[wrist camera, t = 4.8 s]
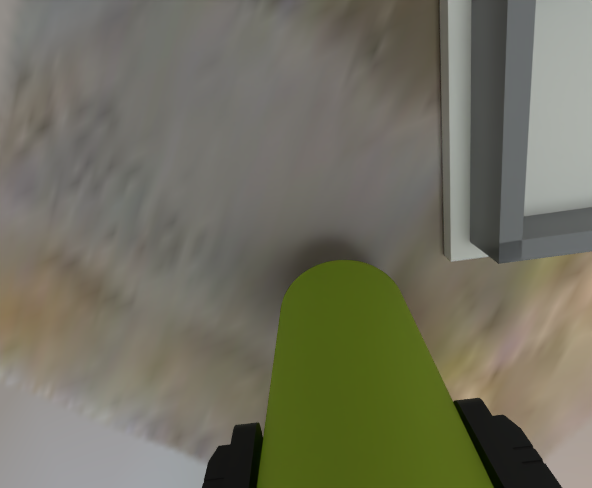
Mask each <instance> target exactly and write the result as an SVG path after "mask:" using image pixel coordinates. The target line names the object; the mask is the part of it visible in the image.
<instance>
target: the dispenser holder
mask: <svg viewBox="0 0 592 488" xmlns="http://www.w3.org/2000/svg"><path fill="white" fill-rule="evenodd" d="M440 54H441V109H442V164H443V219H444V255H445V256H446V257H447V258H448V259H449V260H450V261H451V262H452V261H460V260H467V259H475V258H482V257H491V258H492V259H493V260H494V261H496V262H497V263H498V264H500V263H507V262H515V261H522V260H530V259H537V258H545V257H552V256H560V255H567V254H575V253H582V252H590V251H592V0H440Z"/></svg>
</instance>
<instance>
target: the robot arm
mask: <svg viewBox="0 0 592 488" xmlns="http://www.w3.org/2000/svg"><path fill="white" fill-rule="evenodd" d="M453 403H454V405H455V407H456V409H457V411H458V413H459V416H460V418H461V420H462V422H463V424H464V426H465V428H466V430H467V432H468V434H469V436H470V439H471V441H472V443H473V445H474V447H475V449H476V451H477V453H478V455H479V457H480V460H481V462H482V464H483V466H484V468H485V470H486V472H487V474H488V476H489V478H490V481H491V483H492V485H493V487H494V488H562V487H561V485H560V484H559V483H558V481H557V480H556V478H555V477H554V475H553V474H552V473H551V471H550V470H549V468H548V467H547V465H546V464H544V463H543V460H542V458H541V457H540V455H539V454H538V452H537V451H536V450H535V449H534V448H533V445H532V444H531V442H530V441H529V440H528V438H527V437H526V435H525V434H524V432H523V431H522V429H521V428H520V427H518V426H517V425H516V424H515V423H513V422H512V421H511V420H509V419H508V418H507V417H506V416H504V415H496V416H492V415H491V413H490V411H489V410H488V408H487V407H486V405H485V404H484V402H483V401H482V400H481V399H480V398H473V399H464V400H456V401H454V402H453ZM262 444H263V436H262V431H261V427H260V424H259V423H250V424H241V425H235V426H234V429H233V434H232V439H231V444H230V445H222V446H218V448H217V449H216V451H215V452H214V454H213V456H212V457H211V459H210V460H209V462H208V465H207V469H206V474H205V478H204V483H203V486H202V488H257V481H258V474H259V466H260V459H261V451H262Z"/></svg>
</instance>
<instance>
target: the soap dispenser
mask: <svg viewBox="0 0 592 488" xmlns="http://www.w3.org/2000/svg"><path fill="white" fill-rule="evenodd" d="M257 488H494V487H493V485H492V483H491V481H490V478H489V476H488V474H487V472H486V470H485V468H484V466H483V464H482V462H481V460H480V457H479V455H478V453H477V451H476V449H475V447H474V445H473V443H472V441H471V439H470V436H469V434H468V432H467V430H466V428H465V426H464V424H463V422H462V420H461V418H460V416H459V413H458V411H457V409H456V407H455V405H454V403H453V401H452V399H451V397H450V395H449V392H448V390H447V388H446V386H445V384H444V382H443V380H442V378H441V376H440V374H439V371H438V369H437V367H436V365H435V363H434V361H433V359H432V357H431V355H430V353H429V351H428V348H427V346H426V344H425V342H424V340H423V338H422V336H421V334H420V332H419V330H418V327H417V325H416V323H415V321H414V319H413V317H412V315H411V313H410V311H409V309H408V307H407V304H406V302H405V300H404V298H403V296H402V294H401V292H400V290H399V288H398V287H397V285H396V284H395V282H394V281H393V280H392V279H391V278H390V277H389V276H388V275H387V274H385V273H384V272H383V271H381V270H380V269H378V268H376V267H374V266H372V265H369V264H367V263H363V262H359V261H353V260H335V261H329V262H325V263H322V264H319V265H316V266H314V267H312V268H310V269H308V270H307V271H305V272H304V273H302V274H301V275H300V276H299V277H298V278H297V279H296V280H295V281H294V282H293V283H292V284H291V285H290V287H289V288H288V290H287V292H286V294H285V296H284V298H283V301H282V305H281V311H280V318H279V326H278V333H277V340H276V348H275V355H274V363H273V370H272V377H271V385H270V392H269V400H268V407H267V414H266V422H265V429H264V437H263V444H262V451H261V459H260V466H259V474H258V481H257Z"/></svg>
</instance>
